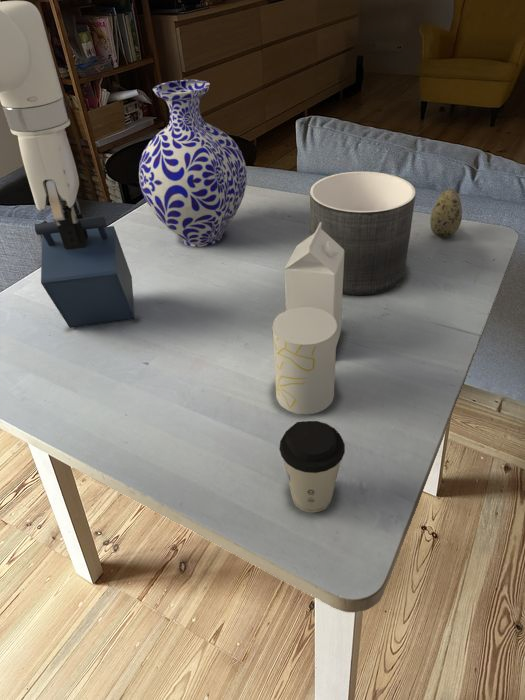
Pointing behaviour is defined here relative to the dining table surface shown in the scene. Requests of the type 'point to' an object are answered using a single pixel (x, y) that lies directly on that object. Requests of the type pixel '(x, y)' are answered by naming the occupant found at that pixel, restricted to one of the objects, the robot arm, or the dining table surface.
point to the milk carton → (316, 276)
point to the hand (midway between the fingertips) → (76, 243)
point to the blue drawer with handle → (87, 275)
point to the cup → (304, 359)
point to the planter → (366, 226)
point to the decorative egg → (446, 214)
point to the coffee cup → (312, 463)
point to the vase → (192, 169)
